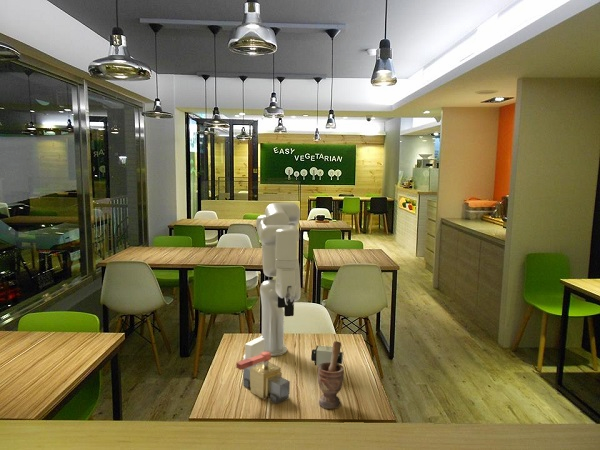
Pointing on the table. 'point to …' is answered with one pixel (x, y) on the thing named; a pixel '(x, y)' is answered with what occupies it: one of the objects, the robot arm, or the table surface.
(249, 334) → the table surface
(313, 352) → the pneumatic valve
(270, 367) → the valve pipe
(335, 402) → the mortar and pestle
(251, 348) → the cylinder with rectangular tab
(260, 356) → the lever
